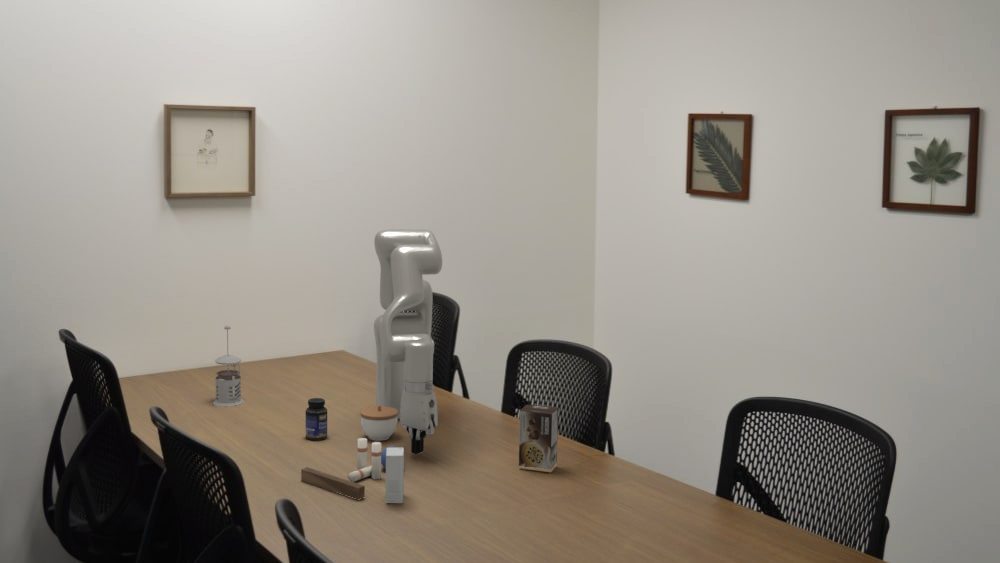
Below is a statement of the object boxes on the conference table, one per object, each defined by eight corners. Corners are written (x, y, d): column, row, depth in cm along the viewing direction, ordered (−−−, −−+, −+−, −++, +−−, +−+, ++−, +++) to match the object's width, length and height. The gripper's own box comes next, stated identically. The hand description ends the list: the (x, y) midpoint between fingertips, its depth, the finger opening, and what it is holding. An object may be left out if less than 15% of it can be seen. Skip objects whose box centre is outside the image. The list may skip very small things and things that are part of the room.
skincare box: (385, 494, 232) (386, 447, 231) (403, 494, 233) (404, 447, 231) (385, 504, 226) (385, 455, 225) (403, 504, 227) (403, 455, 225)
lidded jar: (405, 437, 276) (406, 406, 275) (376, 445, 269) (376, 413, 267) (381, 429, 284) (381, 398, 282) (352, 436, 276) (352, 405, 275)
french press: (207, 405, 303) (205, 327, 300) (223, 395, 315) (222, 320, 311) (236, 407, 302) (235, 329, 298) (251, 397, 313) (251, 322, 309)
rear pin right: (362, 470, 248) (362, 437, 247) (369, 473, 247) (369, 439, 246) (355, 473, 246) (355, 439, 245) (362, 475, 245) (362, 441, 244)
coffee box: (557, 466, 256) (559, 407, 254) (550, 474, 250) (552, 413, 248) (524, 461, 259) (526, 403, 256) (517, 469, 253) (519, 409, 250)
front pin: (373, 462, 248) (348, 471, 240) (380, 464, 246) (355, 473, 239) (373, 471, 248) (347, 480, 241) (380, 474, 247) (354, 483, 239)
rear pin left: (376, 475, 245) (376, 441, 244) (383, 477, 244) (383, 443, 243) (369, 478, 243) (369, 443, 242) (376, 480, 242) (376, 445, 241)
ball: (372, 464, 248) (385, 467, 253) (390, 470, 245) (403, 474, 250) (380, 442, 249) (393, 445, 254) (397, 448, 246) (410, 451, 251)
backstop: (307, 478, 242) (307, 467, 241) (364, 498, 230) (364, 486, 230) (301, 480, 240) (301, 469, 240) (358, 500, 228) (358, 488, 228)
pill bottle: (322, 441, 271) (322, 403, 269) (302, 439, 272) (301, 402, 270) (330, 435, 277) (330, 398, 275) (310, 433, 278) (310, 396, 276)
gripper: (448, 388, 255) (447, 455, 258) (407, 378, 264) (406, 443, 267) (430, 393, 249) (429, 462, 252) (388, 383, 258) (387, 449, 261)
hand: (417, 452), depth 259 cm, fingers closed
